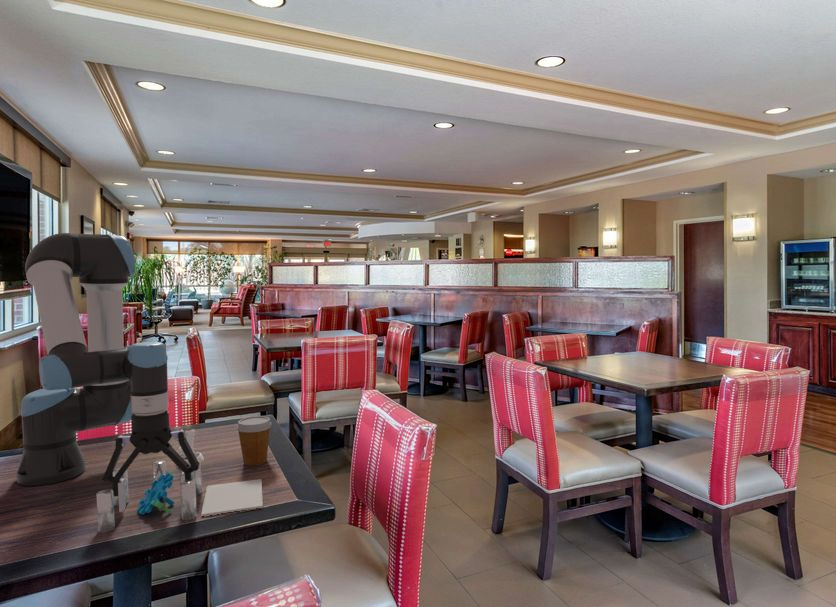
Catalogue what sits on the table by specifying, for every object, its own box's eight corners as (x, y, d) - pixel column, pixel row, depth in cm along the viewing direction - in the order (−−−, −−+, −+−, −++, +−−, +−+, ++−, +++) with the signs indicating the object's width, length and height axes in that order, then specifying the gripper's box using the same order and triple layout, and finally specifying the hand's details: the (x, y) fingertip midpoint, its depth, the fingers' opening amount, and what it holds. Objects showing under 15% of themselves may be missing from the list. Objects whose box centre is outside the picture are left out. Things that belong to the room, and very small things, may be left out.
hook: (190, 453, 139) (174, 437, 141) (183, 480, 145) (168, 464, 147) (213, 440, 145) (197, 424, 147) (206, 466, 151) (190, 450, 153)
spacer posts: (96, 533, 106) (94, 496, 106) (118, 497, 123) (116, 465, 123) (195, 519, 112) (194, 483, 112) (203, 487, 129) (202, 456, 129)
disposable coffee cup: (244, 455, 151) (243, 415, 151) (276, 455, 151) (275, 415, 150) (232, 468, 142) (230, 425, 141) (266, 468, 141) (265, 425, 141)
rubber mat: (201, 516, 113) (201, 514, 113) (207, 488, 129) (207, 485, 129) (262, 508, 117) (262, 505, 117) (261, 481, 133) (261, 479, 133)
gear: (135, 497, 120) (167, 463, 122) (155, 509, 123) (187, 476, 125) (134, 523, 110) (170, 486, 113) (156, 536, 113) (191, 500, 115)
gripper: (82, 421, 108) (87, 520, 109) (206, 410, 116) (210, 504, 117) (93, 412, 115) (97, 505, 117) (209, 402, 123) (212, 491, 124)
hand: (154, 505), depth 117 cm, fingers open, 12 cm apart
